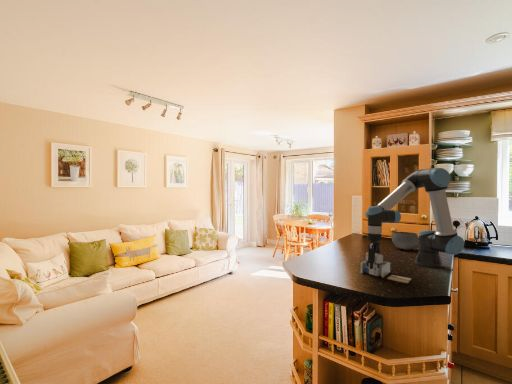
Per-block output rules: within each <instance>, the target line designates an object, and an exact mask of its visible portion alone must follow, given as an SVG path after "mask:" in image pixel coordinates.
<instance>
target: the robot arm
mask: <svg viewBox="0 0 512 384" xmlns="http://www.w3.org/2000/svg"><path fill="white" fill-rule="evenodd" d="M451 181H452V178H451V175H450V172H449V171H448V170H447V169H445V168H442V167H431V168H424V169H418V170H416V171H414V172H412V173H410V174H409V175H408V176H406V177H405V178H404V179H402V181H401V184H399V186H397V187H396V188H395V189H394V190H393V191H391V192H390V193H389V194H388V195H387V196H386V197H385V198H384V199H382V200H381V201H380V202H379V203H377V205H375V206H371V205H370V206H369V207H368V209H367V210H366V211H365V216H366V218H367V226H366V229H367V240H368V241H370V243H368V252H367V253H368V262H369V273H368V274H369V275H372V276H375V275H374V271H375V263H374V258H375V253H378V254H381V253H380V251H381V250H380V248H381V242H380V241H382V236H383V235H382V233H383V227H382V226H383V223H384V224H398V223H400V221H401V219H402V214H401V212H400V211H398V210H395V209H394V208H395V207H396V206H397V205H398V204H399V203H400V202H401V201H403V200H404V198H405V197H406V196H408V195H409V194H410V193H412V192H414V191H416V190H418V189H421V188H424V191H425V192H426V193H427V194H428V196H429V200H430V201H429V202H430V206H431V209H432V215H433V219H434V224H435V229H436V230H420V231H419V232H418V239H419V241H418V253H417V255H416V258H415V261H414V262H415V264H416V265H418V266H421V267H428V268H437V269H438V268H442V267H443V261H442V259H441V256H440V253H444V254H447V255H453V256H455V255H459V254H460V253H461V252H462V251H463V250H464V247H465V239H464V238H463V237H461V236H459V235H458V232H457V230H456V229H455V228H454V227H453V222H452V221H453V220H452V216H451V212H450V207H449V203H448V202H449V201H448V198H447V193H446V191H447V190H448V186H449V185H450V184H451Z"/></svg>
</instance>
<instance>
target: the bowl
mask: <svg viewBox="0 0 512 384" xmlns="http://www.w3.org/2000/svg"><path fill="white" fill-rule="evenodd" d="M391 241H392V243H393V245H394V246H395V247H396V248H397V249H400V250H402V249H403V251H409V250H413V249H415V248H417V246H419V234H417V232H416V233H415V232H406V231H392V233H391Z"/></svg>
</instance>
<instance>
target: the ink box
mask: <svg viewBox="0 0 512 384" xmlns="http://www.w3.org/2000/svg"><path fill="white" fill-rule="evenodd" d="M365 260H366V267H365V272H364V273H366V274H369V262H368V252H365ZM383 261H384V255H383V254H381V253H380V254H378V253H375V258H374V263H375V271H374V275H373V276H375V277H381V270H382V266H383Z"/></svg>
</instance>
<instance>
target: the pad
mask: <svg viewBox="0 0 512 384" xmlns="http://www.w3.org/2000/svg"><path fill="white" fill-rule="evenodd" d="M386 279H387V280H390V281H395V282H398V283H404V284H409V283H410V282H411V281H412V278H410V277H405V276H400V275H395V274H390V275H389V276H388V277H386Z"/></svg>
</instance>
